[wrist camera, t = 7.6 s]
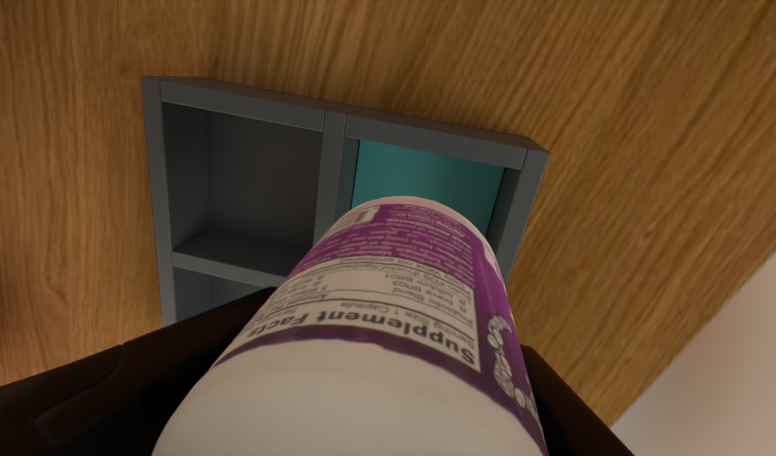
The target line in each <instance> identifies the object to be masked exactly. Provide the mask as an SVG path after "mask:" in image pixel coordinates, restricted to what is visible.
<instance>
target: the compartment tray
mask: <svg viewBox="0 0 776 456" xmlns="http://www.w3.org/2000/svg"><path fill="white" fill-rule="evenodd" d="M141 87H142V98H143V110H144V121H145V132H146V144H147V155H148V166H149V177H150V189H151V200H152V211H153V222H154V234H155V245H156V256H157V267H158V279H159V290H160V301H161V312H162V324H163V327H166V326H169V325H171V324H174V323H176V322H179V321H182V320H184V319H187V318H189V317H192V316H194V315H197V314H200V313H202V312H205V311H207V310H210V309H212V308H215V307H218V306H220V305H223V304H225V303H228V302H230V301H233V300H236V299H238V298H241V297H243V296H246V295H248V294H251V293H254V292H256V291H259V290H261V289H264V288H266V287H269V286H274V287H279V286H280V285H281V283H282V282H283V281H284V280H285V279H286V278H287V276H288V275H289V274H290V273H291V272H292V271H293V269H294V268H295V267H296V266H297V265H298V263H299V262H300V261H301V260H302V259H303V258H304V257H305V256H306V255H307V254H308V253H309V251H310V250H311V249H312V248H313V247H314V246H315V245H316V243H317V242H318V241H319V240H320V239H321V238H322V237H323V236H324V235H325V234H326V232H327V231H328V230H329V229H330V228H331V227H332V226H333V225H334V224H335V223H336V222H337V221H338V220H339V219H340V218H341V217H342V216H343V215H345V214H346V213H347V212H349V211H350V210H352V209H353V208H355V207H357V206H359V205H361V204H363V203H365V202H368V201H371V200H376V199H380V198H384V197H391V196H414V197H420V198H424V199H428V200H433V201H436V202H438V203H440V204H443V205H445V206H447V207H449V208H451V209H453V210H454V211H456V212H458V213H459V214H461V215H462V216H463V217H465V218H466V219H468V220H469V221H470V222H471V223H472V224H473V225H474V226H475V227H476V228H477V229H478V230H479V231H480V233H481V234H482V235H483V237H484V238H485V239H486V241H487V242H488V243H489V245H490V247H491V249H492V251H493V253H494V255H495V258H496V260H497V263H498V266H499V269H500V272H501V275H502V278H503V281H504V285H505V289H506V286H507V283H508V280H509V277H510V274H511V271H512V268H513V265H514V262H515V259H516V256H517V253H518V250H519V247H520V244H521V241H522V238H523V235H524V232H525V229H526V226H527V223H528V220H529V217H530V214H531V210H532V207H533V204H534V201H535V198H536V195H537V192H538V189H539V186H540V183H541V180H542V177H543V174H544V171H545V168H546V165H547V162H548V159H549V156H550V152H548V151H547V150H545V149H544V148H543V147H541V146H540V145H539V144H537V143H536V142H534V141H533V140H532V139H530V138H527V137H522V136H516V135H511V134H506V133H500V132H495V131H489V130H484V129H478V128H473V127H468V126H462V125H457V124H451V123H446V122H441V121H435V120H430V119H424V118H419V117H414V116H408V115H403V114H397V113H392V112H386V111H381V110H376V109H370V108H365V107H359V106H354V105H349V104H343V103H338V102H332V101H327V100H322V99H316V98H311V97H305V96H300V95H294V94H289V93H284V92H278V91H273V90H267V89H262V88H257V87H251V86H246V85H240V84H235V83H230V82H224V81H219V80H213V79H208V78H202V77H175V76H142V77H141Z"/></svg>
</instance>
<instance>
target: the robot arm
mask: <svg viewBox="0 0 776 456" xmlns="http://www.w3.org/2000/svg"><path fill="white" fill-rule="evenodd" d="M277 288H278V287H274V286H269V287H266V288H264V289H261V290H259V291H256V292H254V293H251V294H248V295H246V296H243V297H241V298H238V299H236V300H233V301H230V302H228V303H225V304H223V305H220V306H218V307H215V308H212V309H210V310H207V311H205V312H202V313H200V314H197V315H194V316H192V317H189V318H187V319H184V320H182V321H179V322H176V323H174V324H171V325H169V326H166V327H163V328H161V329H158V330H156V331H153V332H151V333H148V334H145V335H143V336H140V337H138V338H135V339H132V340H130V341H127V342H125V343H124V344H123V346H122V345H117V346H114V347H112V348H109V349H107V350H104V351H101V352H99V353H96V354H93V355H91V356H88V357H85V358H83V359H80V360H77V361H75V362H72V363H69V364H66V365H64V366H61V367H58V368H55V369H52V370H49V371H46V372H43V373H40V374H37V375H34V376H31V377H28V378H25V379H22V380H19V381H16V382H13V383H10V384H7V385H3V386H0V456H152V453H153V450H154V448H155V446H156V443H157V441H158V439H159V437H160V435H161V433H162V431H163V430H164V428H165V426H166V424H167V423H168V421H169V419H170V418H171V416H172V415H173V414H174V412H175V411H176V410H177V408H178V407H179V405H180V404H181V403H182V401H183V400H184V399H185V397H186V396H187V395H188V393H189V392H190V391H191V389H192V388H193V387H194V385H195V384H196V383H197V382H198V381H199V380H200V379H201V377H202V376H203V375H204V374H205V373H206V372H207V371H208V370H209V369H210V367H211V366H212V365H213V364H214V362H215V361H216V360H217V359H218V358H219V357H220V355H221V354H222V353H223V352H224V351H225V350H226V348H227V347H228V346H229V345H230V344H231V343H232V341H233V340H234V339H235V338H236V337H237V335H238V334H239V333H240V332H241V331H242V330H243V328H244V327H245V326H246V325H247V324H248V323H249V321H250V320H251V319H252V318H253V317H254V315H255V314H256V313H257V312H258V311H259V309H260V308H261V307H262V306H263V305H264V304H265V303H266V301H267V300H268V299H269V298H270V296H271V295H272V294H273V293H274V292H275V291H276V290H277ZM520 347H521V351H522V355H523V359H524V363H525V366H526V370H527V374H528V377H529V381H530V385H531V388H532V392H533V396H534V399H535V404H536V408H537V412H538V416H539V419H540V423H541V426H542V430H543V434H544V438H545V442H546V446H547V450H548V453H549V456H635V455H634V454H633V453H632V452H631V451H630V450H629V449H628V448H627V447H626V446H625V445H624V444H623V443H622V442H621V441H620V439H619V438H617V436H616V435H615V434H614V433H613V432H612V431H611V430H610V429H609V428H608V427H607V426H606V425H605V424H604V423H603V422H602V420H601V419H600V418H599V417H598V416H597V415H596V414H595V413H594V412H593V411H592V410H591V409H590V408H589V407H588V406H587V405H586V404H585V403H584V402H583V400H582V399H581V398H580V397H579V396H578V395H577V394H576V393H575V392H574V391H573V390H572V389H571V388H570V387H569V386H568V385H567V384H566V383H565V381H564V380H563V379H562V378H561V377H560V376H559V375H558V374H557V373H556V372H555V371H554V370H553V369H552V368H551V367H550V366H549V365H548V364H547V363H546V361H545V360H544V359H543V358H542V357H541V356H540V355H539V354H538V353H537V352H536V351H535V350H534V349H533V348H532V347H530V346H525V345H521V344H520Z"/></svg>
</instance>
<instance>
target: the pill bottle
mask: <svg viewBox="0 0 776 456" xmlns="http://www.w3.org/2000/svg"><path fill="white" fill-rule="evenodd" d="M152 456H549V453H548V450H547V446H546V442H545V438H544V434H543V430H542V426H541V423H540V419H539V416H538V412H537V408H536V404H535V399H534V396H533V392H532V388H531V385H530V381H529V377H528V374H527V370H526V366H525V363H524V359H523V355H522V351H521V347H520V344H519V340H518V336H517V333H516V329H515V324H514V319H513V315H512V312H511V308H510V304H509V301H508V298H507V293H506V289H505V285H504V281H503V278H502V275H501V272H500V269H499V266H498V263H497V260H496V258H495V255H494V253H493V251H492V249H491V247H490V245H489V243H488V242H487V241H486V239H485V238H484V237H483V235H482V234H481V233H480V231H479V230H478V229H477V228H476V227H475V226H474V225H473V224H472V223H471V222H470V221H469V220H468V219H466V218H465V217H463V216H462V215H461V214H459V213H458V212H456V211H454V210H453V209H451V208H449V207H447V206H445V205H443V204H440V203H438V202H436V201H433V200H428V199H424V198H420V197H414V196H391V197H384V198H380V199H376V200H371V201H368V202H365V203H363V204H361V205H359V206H357V207H355V208H353V209H352V210H350V211H349V212H347V213H346V214H345V215H343V216H342V217H341V218H340V219H339V220H338V221H337V222H336V223H335V224H334V225H333V226H332V227H331V228H330V229H329V230H328V231H327V232H326V234H325V235H324V236H323V237H322V238H321V239H320V240H319V241H318V242H317V243H316V245H315V246H314V247H313V248H312V249H311V250H310V251H309V253H308V254H307V255H306V256H305V257H304V258H303V259H302V260H301V261H300V262H299V263H298V265H297V266H296V267H295V268H294V269H293V271H292V272H291V273H290V274H289V275H288V276H287V278H286V279H285V280H284V281H283V282H282V283H281V285H280V286H279V287H278V288H277V290H276V291H275V292H274V293H273V294H272V295H271V296H270V298H269V299H268V300H267V301H266V303H265V304H264V305H263V306H262V307H261V308H260V309H259V311H258V312H257V313H256V314H255V315H254V317H253V318H252V319H251V320H250V321H249V323H248V324H247V325H246V326H245V327H244V328H243V330H242V331H241V332H240V333H239V334H238V335H237V337H236V338H235V339H234V340H233V341H232V343H231V344H230V345H229V346H228V347H227V348H226V350H225V351H224V352H223V353H222V354H221V355H220V357H219V358H218V359H217V360H216V361H215V362H214V364H213V365H212V366H211V367H210V369H209V370H208V371H207V372H206V373H205V374H204V375H203V376H202V377H201V379H200V380H199V381H198V382H197V383H196V384H195V385H194V387H193V388H192V389H191V391H190V392H189V393H188V395H187V396H186V397H185V399H184V400H183V401H182V403H181V404H180V405H179V407H178V408H177V410H176V411H175V412H174V414H173V415H172V416H171V418H170V419H169V421H168V423H167V424H166V426H165V428H164V430H163V431H162V433H161V435H160V437H159V439H158V441H157V443H156V446H155V448H154V450H153V453H152Z"/></svg>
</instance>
